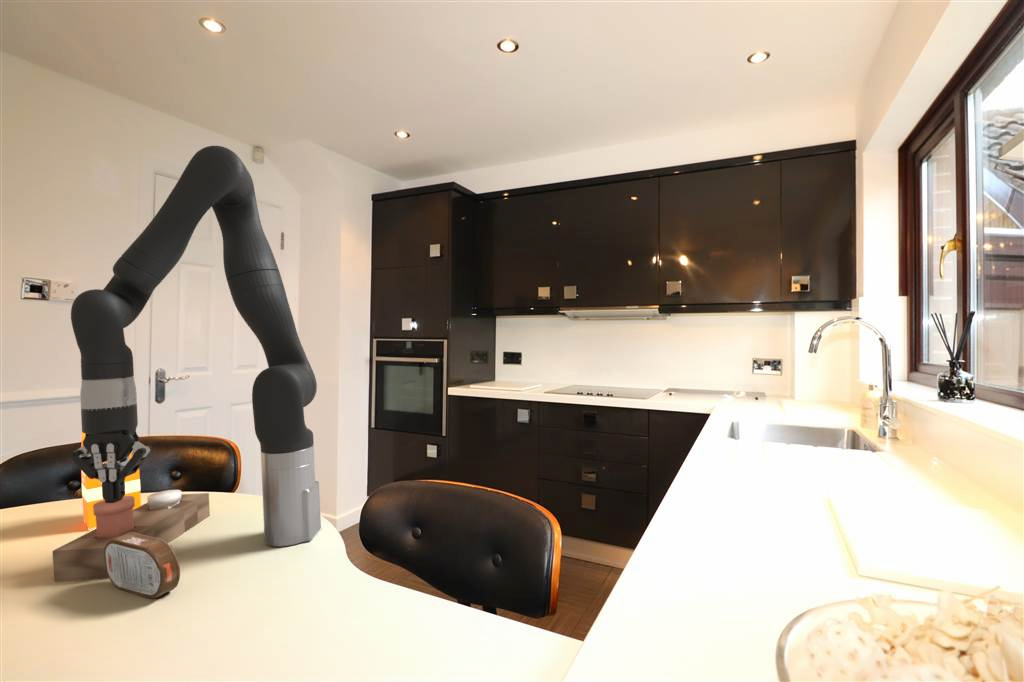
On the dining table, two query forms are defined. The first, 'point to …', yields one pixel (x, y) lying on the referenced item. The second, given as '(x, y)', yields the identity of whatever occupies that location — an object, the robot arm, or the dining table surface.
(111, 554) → the tin
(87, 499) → the orange juice
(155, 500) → the white rounded piece
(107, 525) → the brick plunger
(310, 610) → the dining table surface
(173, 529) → the block
